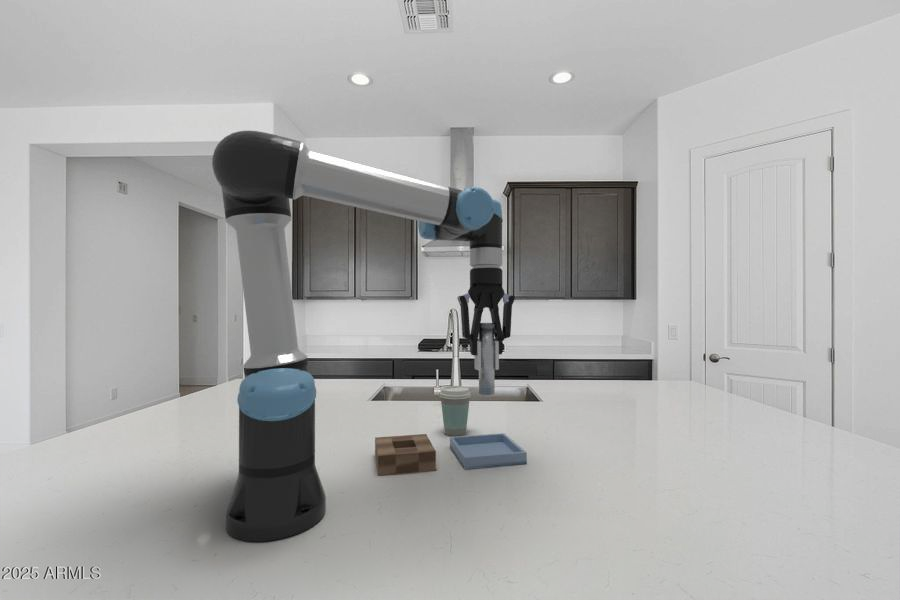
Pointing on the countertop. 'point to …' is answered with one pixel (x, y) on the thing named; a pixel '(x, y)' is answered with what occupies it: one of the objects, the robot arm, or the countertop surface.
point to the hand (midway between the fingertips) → (486, 368)
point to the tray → (487, 451)
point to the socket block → (404, 454)
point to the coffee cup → (455, 409)
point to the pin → (487, 359)
